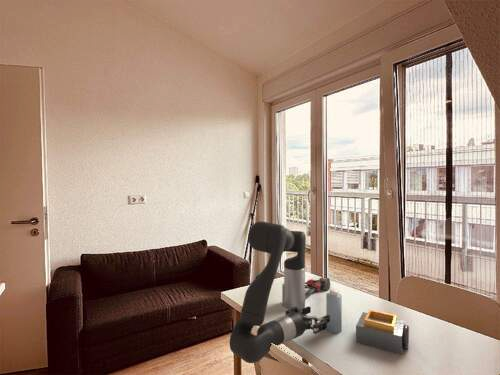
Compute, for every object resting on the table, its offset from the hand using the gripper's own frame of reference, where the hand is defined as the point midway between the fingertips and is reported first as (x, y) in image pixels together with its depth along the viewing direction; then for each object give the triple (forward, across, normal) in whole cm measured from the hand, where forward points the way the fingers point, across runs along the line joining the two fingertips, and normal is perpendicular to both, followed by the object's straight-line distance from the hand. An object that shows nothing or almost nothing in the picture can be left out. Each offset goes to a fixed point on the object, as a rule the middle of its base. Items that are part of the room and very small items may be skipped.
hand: (319, 313), depth 105 cm
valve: (+32, +31, +9) cm, 45 cm away
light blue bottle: (+8, 0, +8) cm, 12 cm away
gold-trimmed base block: (+15, -15, +8) cm, 23 cm away
